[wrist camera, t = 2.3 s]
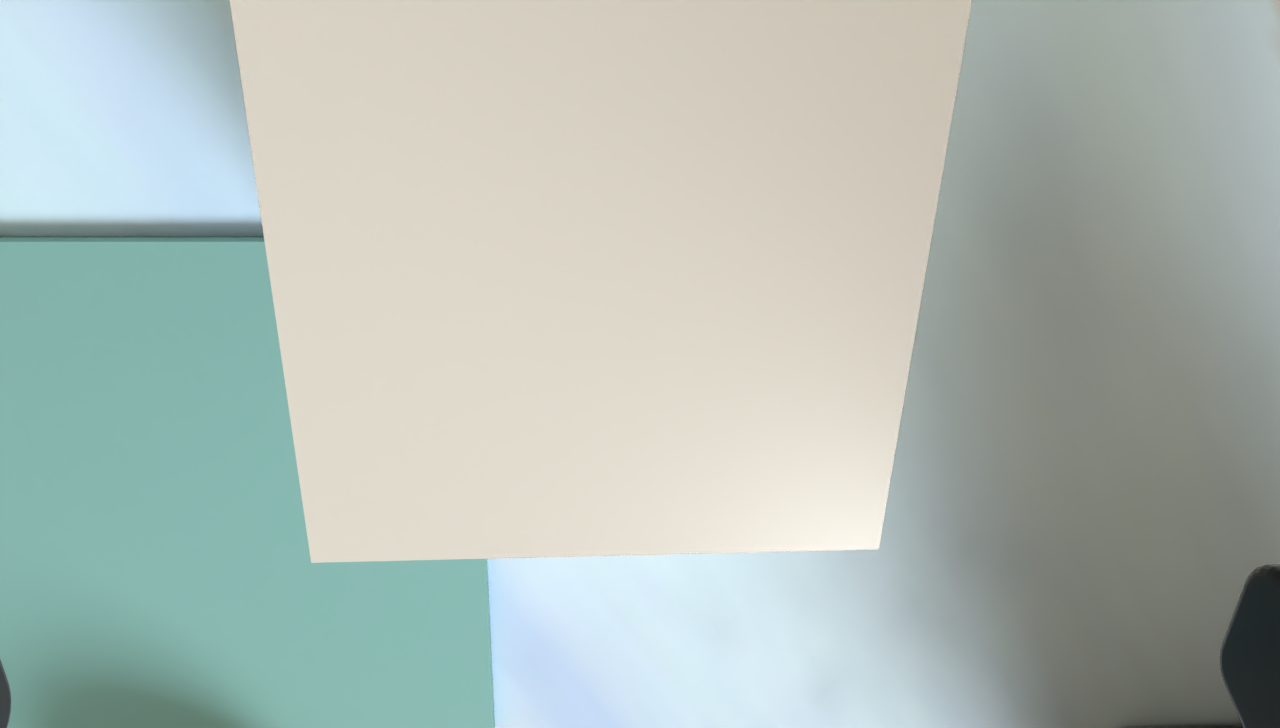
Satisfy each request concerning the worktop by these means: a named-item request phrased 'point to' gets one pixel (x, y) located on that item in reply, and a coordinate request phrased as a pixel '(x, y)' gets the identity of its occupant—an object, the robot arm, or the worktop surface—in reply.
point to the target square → (192, 515)
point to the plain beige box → (596, 265)
